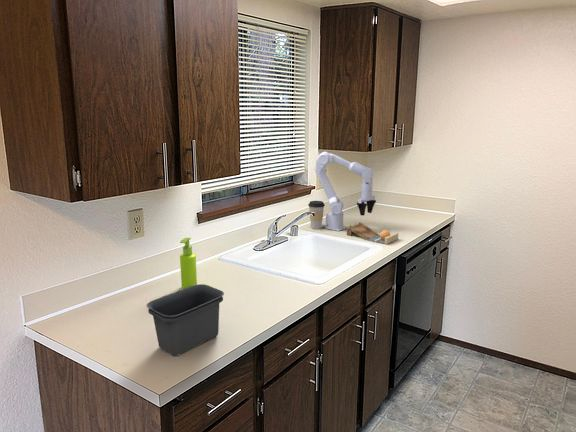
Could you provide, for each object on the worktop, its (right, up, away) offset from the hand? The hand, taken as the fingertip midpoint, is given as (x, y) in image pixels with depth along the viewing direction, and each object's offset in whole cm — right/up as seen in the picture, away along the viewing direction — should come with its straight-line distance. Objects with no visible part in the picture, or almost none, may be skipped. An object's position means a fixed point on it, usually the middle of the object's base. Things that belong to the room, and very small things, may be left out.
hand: (365, 214), depth 259 cm
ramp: (-3, -13, -8) cm, 15 cm away
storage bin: (-74, -39, -118) cm, 145 cm away
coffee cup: (-27, -8, +7) cm, 29 cm away
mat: (+5, -13, -15) cm, 21 cm away
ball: (+7, -11, -17) cm, 22 cm away
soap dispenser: (-82, -29, -77) cm, 117 cm away
